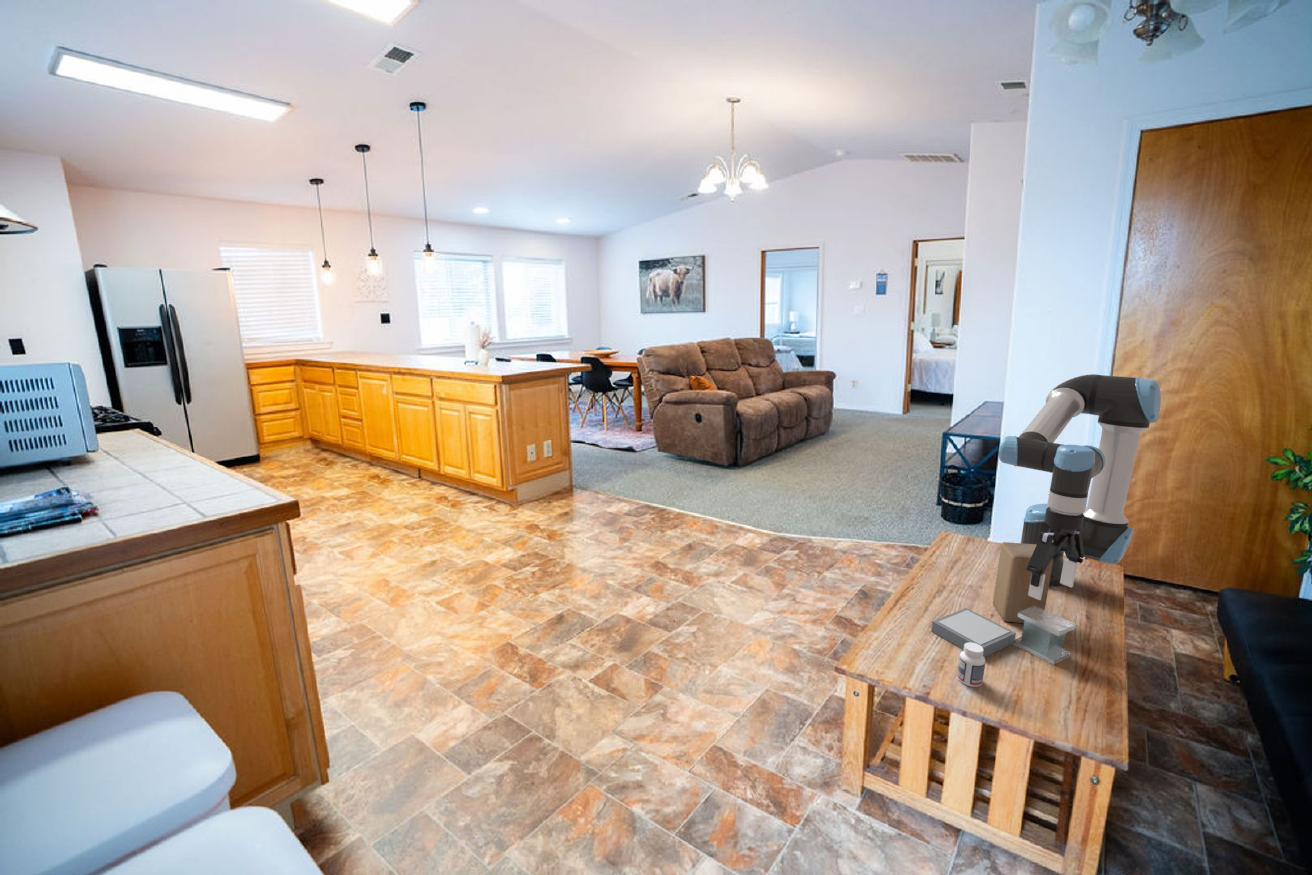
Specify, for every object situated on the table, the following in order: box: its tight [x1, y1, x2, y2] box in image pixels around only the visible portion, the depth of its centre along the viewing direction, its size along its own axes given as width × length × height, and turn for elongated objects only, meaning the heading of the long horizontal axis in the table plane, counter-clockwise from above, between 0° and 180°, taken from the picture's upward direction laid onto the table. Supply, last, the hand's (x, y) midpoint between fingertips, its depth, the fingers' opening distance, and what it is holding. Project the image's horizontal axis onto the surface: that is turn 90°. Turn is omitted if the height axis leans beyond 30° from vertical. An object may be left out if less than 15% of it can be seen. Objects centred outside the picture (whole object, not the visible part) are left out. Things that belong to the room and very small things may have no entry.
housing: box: [1012, 606, 1077, 666], centre depth 150 cm, size 7×10×9 cm
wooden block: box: [992, 541, 1053, 624], centre depth 164 cm, size 10×10×20 cm
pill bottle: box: [957, 642, 986, 688], centre depth 138 cm, size 5×5×9 cm
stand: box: [930, 607, 1017, 658], centre depth 156 cm, size 14×14×3 cm
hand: (1050, 591), depth 146 cm, fingers open, 13 cm apart
